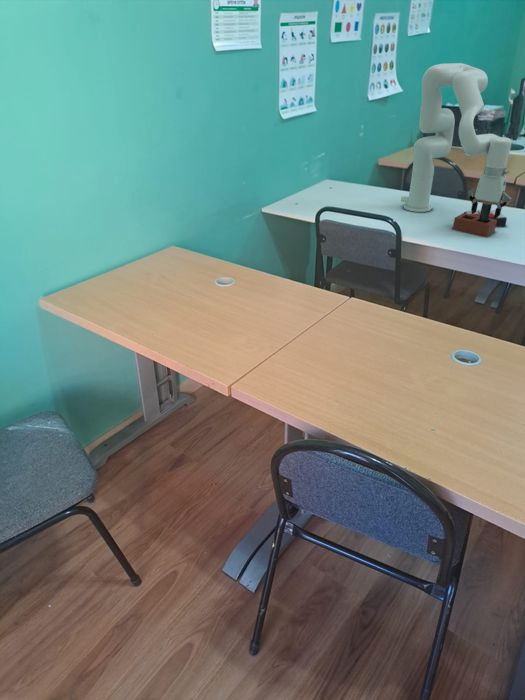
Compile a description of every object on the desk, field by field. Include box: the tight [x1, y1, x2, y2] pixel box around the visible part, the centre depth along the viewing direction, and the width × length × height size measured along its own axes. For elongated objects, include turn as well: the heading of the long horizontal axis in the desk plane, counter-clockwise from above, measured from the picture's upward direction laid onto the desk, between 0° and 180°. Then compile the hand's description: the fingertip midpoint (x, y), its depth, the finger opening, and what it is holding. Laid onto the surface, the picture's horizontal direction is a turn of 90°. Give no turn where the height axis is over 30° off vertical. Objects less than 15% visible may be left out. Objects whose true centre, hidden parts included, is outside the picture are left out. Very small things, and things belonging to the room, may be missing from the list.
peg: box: [479, 201, 493, 223], centre depth 211 cm, size 4×4×12 cm
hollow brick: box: [452, 212, 497, 238], centre depth 214 cm, size 15×8×5 cm, turn 48°
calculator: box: [463, 209, 508, 228], centre depth 223 cm, size 11×4×15 cm
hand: (484, 215), depth 210 cm, fingers open, 8 cm apart
